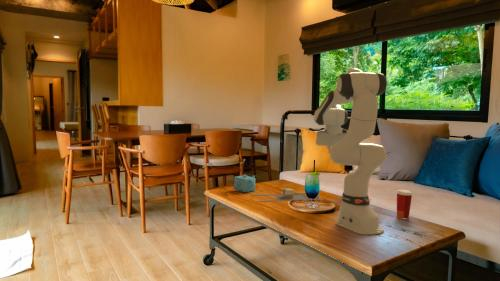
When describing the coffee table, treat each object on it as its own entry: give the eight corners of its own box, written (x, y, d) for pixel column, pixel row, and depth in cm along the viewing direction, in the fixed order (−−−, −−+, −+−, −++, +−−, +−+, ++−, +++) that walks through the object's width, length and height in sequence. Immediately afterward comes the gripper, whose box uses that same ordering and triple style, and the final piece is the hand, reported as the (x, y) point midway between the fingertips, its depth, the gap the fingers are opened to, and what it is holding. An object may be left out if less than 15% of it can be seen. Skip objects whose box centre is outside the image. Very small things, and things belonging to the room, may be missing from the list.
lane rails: (320, 200, 202) (320, 198, 201) (257, 203, 190) (257, 201, 190) (309, 194, 215) (309, 193, 215) (250, 197, 203) (250, 195, 203)
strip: (320, 199, 203) (320, 190, 203) (280, 201, 196) (281, 191, 195) (311, 195, 214) (312, 186, 213) (273, 196, 206) (274, 187, 206)
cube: (293, 198, 201) (293, 190, 201) (285, 198, 200) (286, 190, 199) (289, 196, 206) (290, 188, 206) (282, 196, 205) (282, 188, 204)
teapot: (226, 191, 217) (227, 174, 216) (247, 188, 229) (248, 171, 228) (242, 196, 205) (243, 178, 204) (263, 192, 217) (264, 175, 216)
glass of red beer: (409, 216, 175) (411, 190, 174) (412, 220, 168) (414, 193, 167) (393, 214, 177) (395, 188, 176) (395, 218, 170) (397, 191, 169)
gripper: (319, 130, 192) (318, 153, 193) (350, 130, 198) (349, 153, 199) (314, 129, 198) (313, 152, 199) (344, 130, 204) (343, 152, 205)
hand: (331, 153), depth 199 cm, fingers closed
